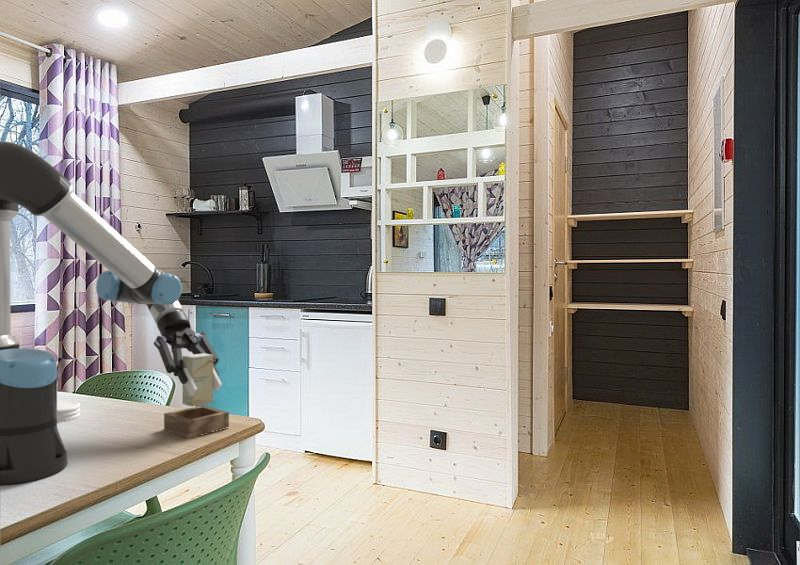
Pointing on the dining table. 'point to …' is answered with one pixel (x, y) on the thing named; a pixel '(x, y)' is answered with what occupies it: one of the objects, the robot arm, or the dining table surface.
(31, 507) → the dining table surface
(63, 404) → the white round piece
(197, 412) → the holder
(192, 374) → the skincare box
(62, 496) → the dining table surface
